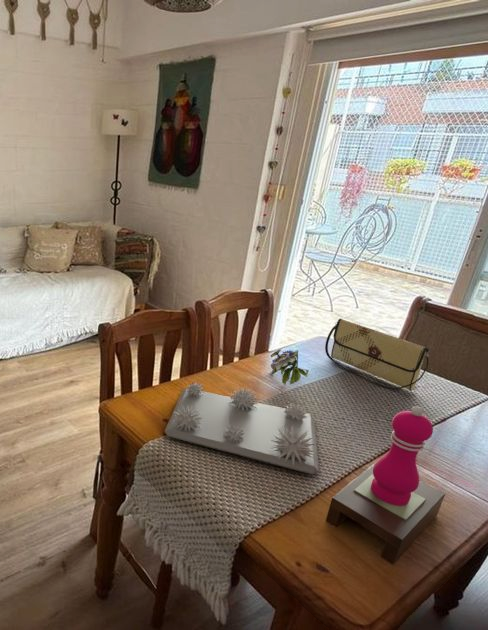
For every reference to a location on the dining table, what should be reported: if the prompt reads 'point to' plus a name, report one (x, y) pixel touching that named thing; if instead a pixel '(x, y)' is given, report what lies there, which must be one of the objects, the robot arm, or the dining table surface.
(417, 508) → the shelf
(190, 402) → the decorative tray
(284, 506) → the dining table surface
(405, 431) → the pepper mill
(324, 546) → the dining table surface
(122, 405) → the dining table surface
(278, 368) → the passion flower
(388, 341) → the clutch purse
